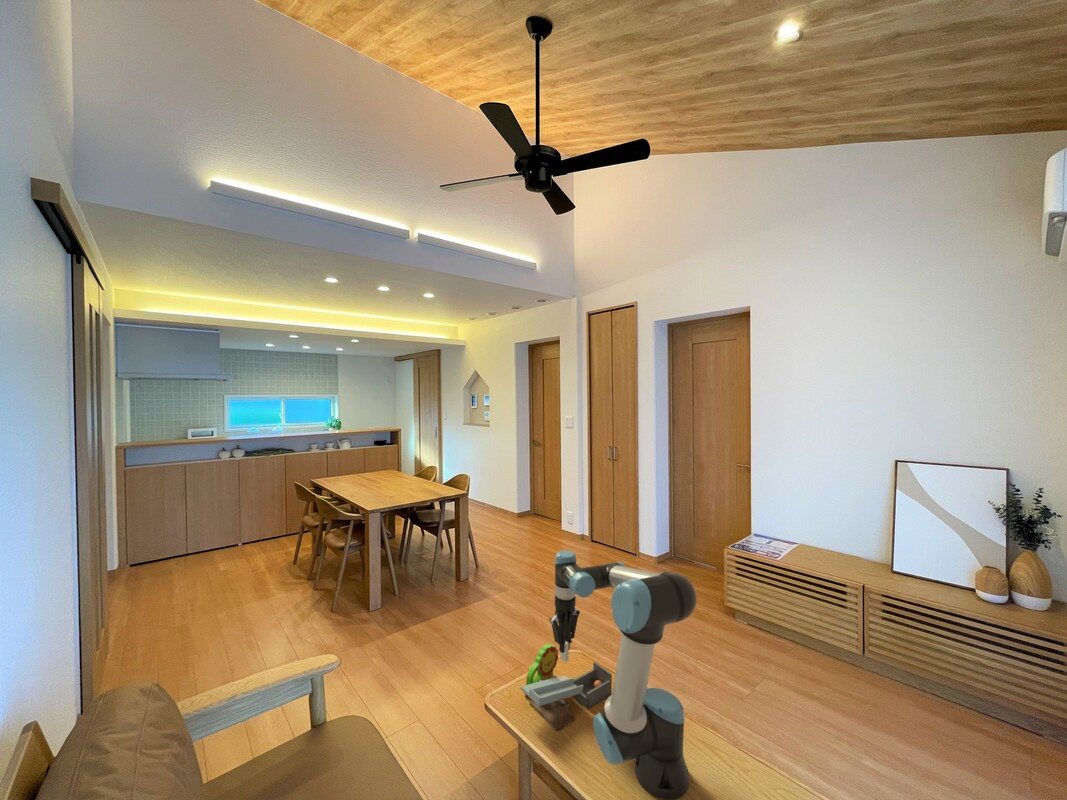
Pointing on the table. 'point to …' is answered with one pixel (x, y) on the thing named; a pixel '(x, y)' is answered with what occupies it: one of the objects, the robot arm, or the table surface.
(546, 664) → the toy lion
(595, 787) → the table surface
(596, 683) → the ball
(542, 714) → the stand
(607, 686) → the pulled-out tray drawer
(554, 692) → the lever
